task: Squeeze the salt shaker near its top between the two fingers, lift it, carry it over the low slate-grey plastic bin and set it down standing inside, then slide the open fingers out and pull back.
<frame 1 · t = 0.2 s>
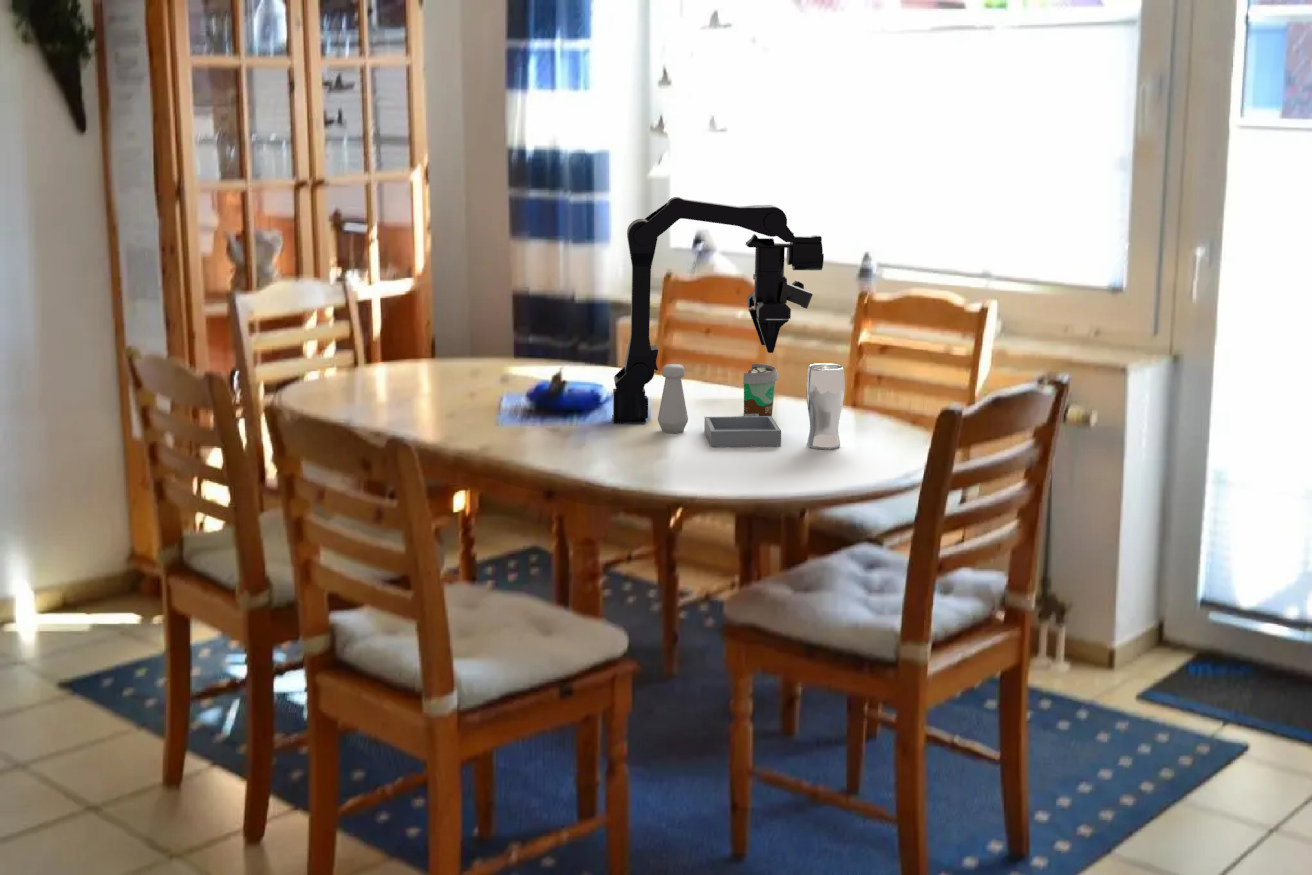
hand: (767, 348, 310), 14 cm above the table, tool pointing down, fingers open, 9 cm apart
food container: (762, 418, 316), on the table
salt shaker: (672, 432, 303), on the table
bin: (741, 439, 296), on the table
beer glass: (823, 447, 291), on the table
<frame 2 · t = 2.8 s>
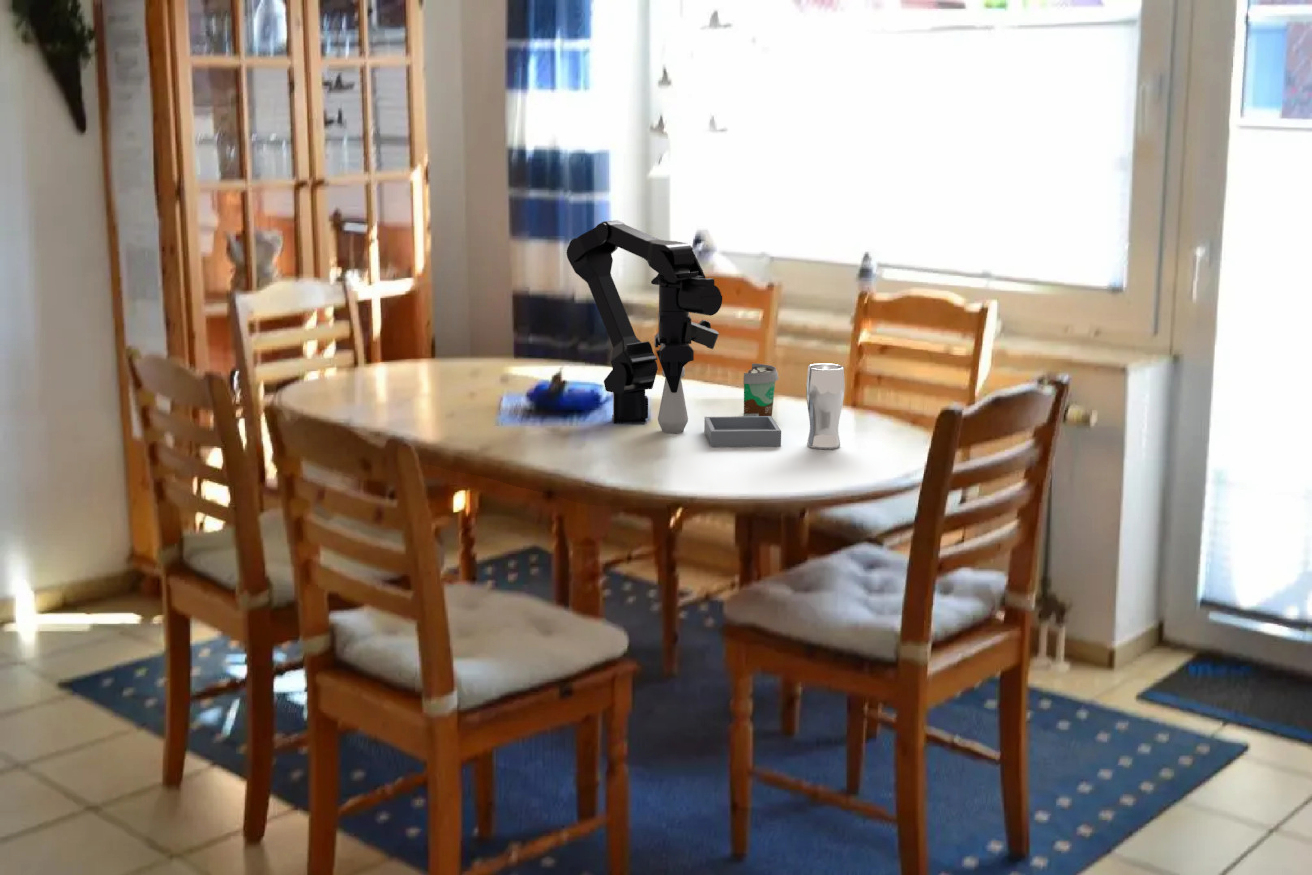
hand: (673, 390, 301), 8 cm above the table, tool pointing down, fingers closed on salt shaker, 4 cm apart
salt shaker: (672, 432, 303), on the table, touching gripper
everything else where it was.
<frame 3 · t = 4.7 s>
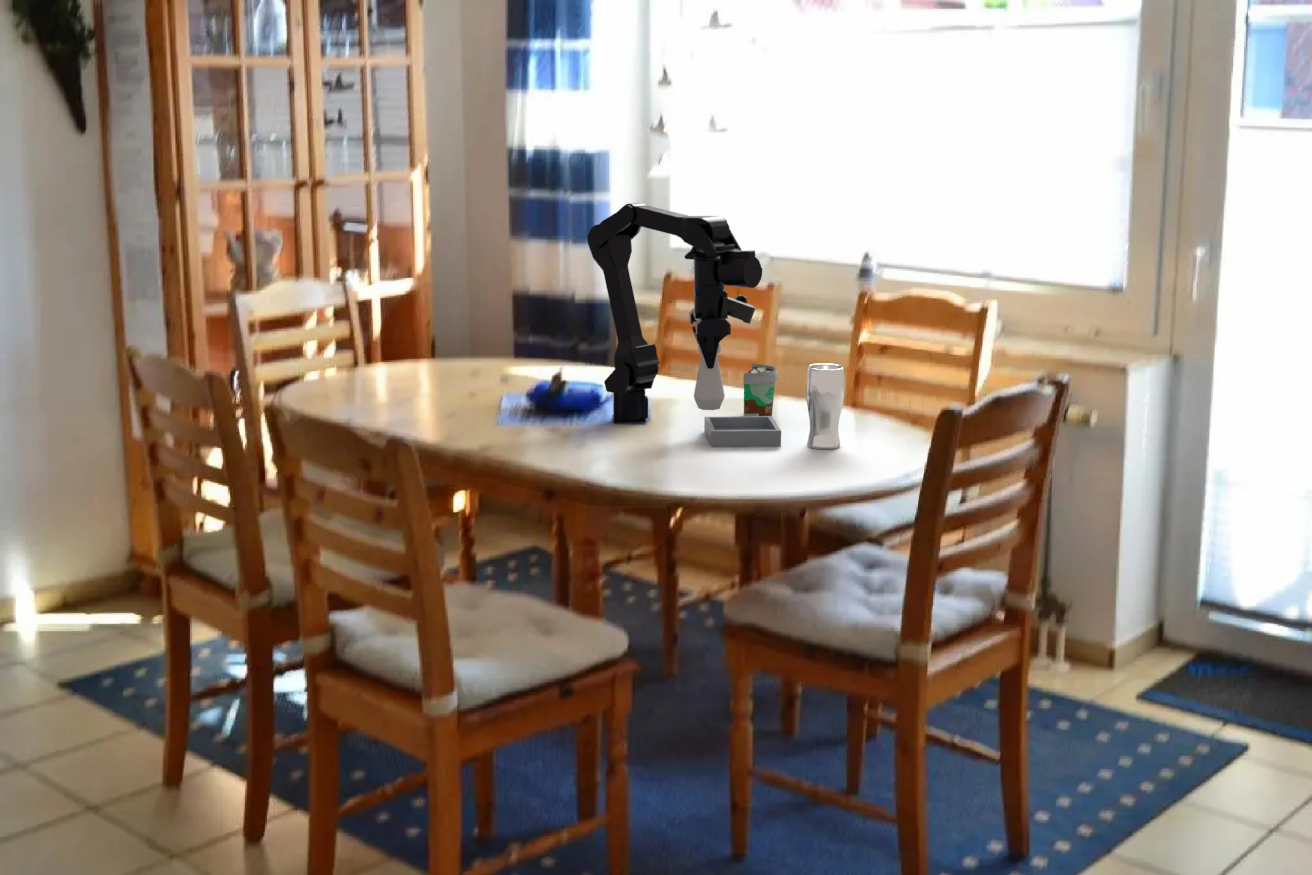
hand: (709, 366, 296), 13 cm above the table, tool pointing down, fingers closed on salt shaker, 4 cm apart
salt shaker: (709, 409, 298), point 5 cm above the table, touching gripper
everything else where it was.
when the fingers open (10 cm above the table, at t = 6.5 s): salt shaker drops 1 cm, resting on bin.
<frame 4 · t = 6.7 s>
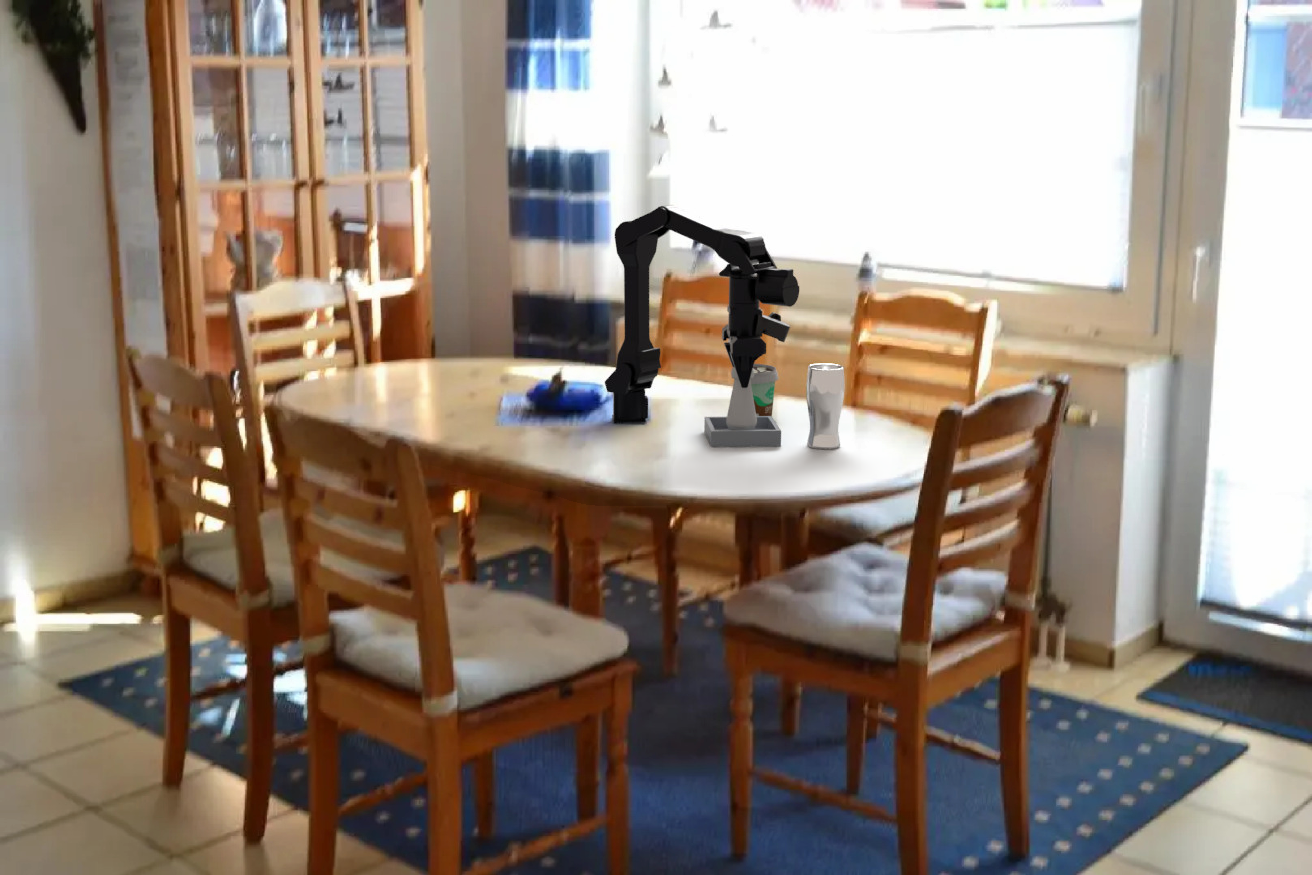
hand: (742, 384, 294), 10 cm above the table, tool pointing down, fingers open, 6 cm apart
salt shaker: (741, 434, 296), point 1 cm above the table, touching bin
everything else where it was.
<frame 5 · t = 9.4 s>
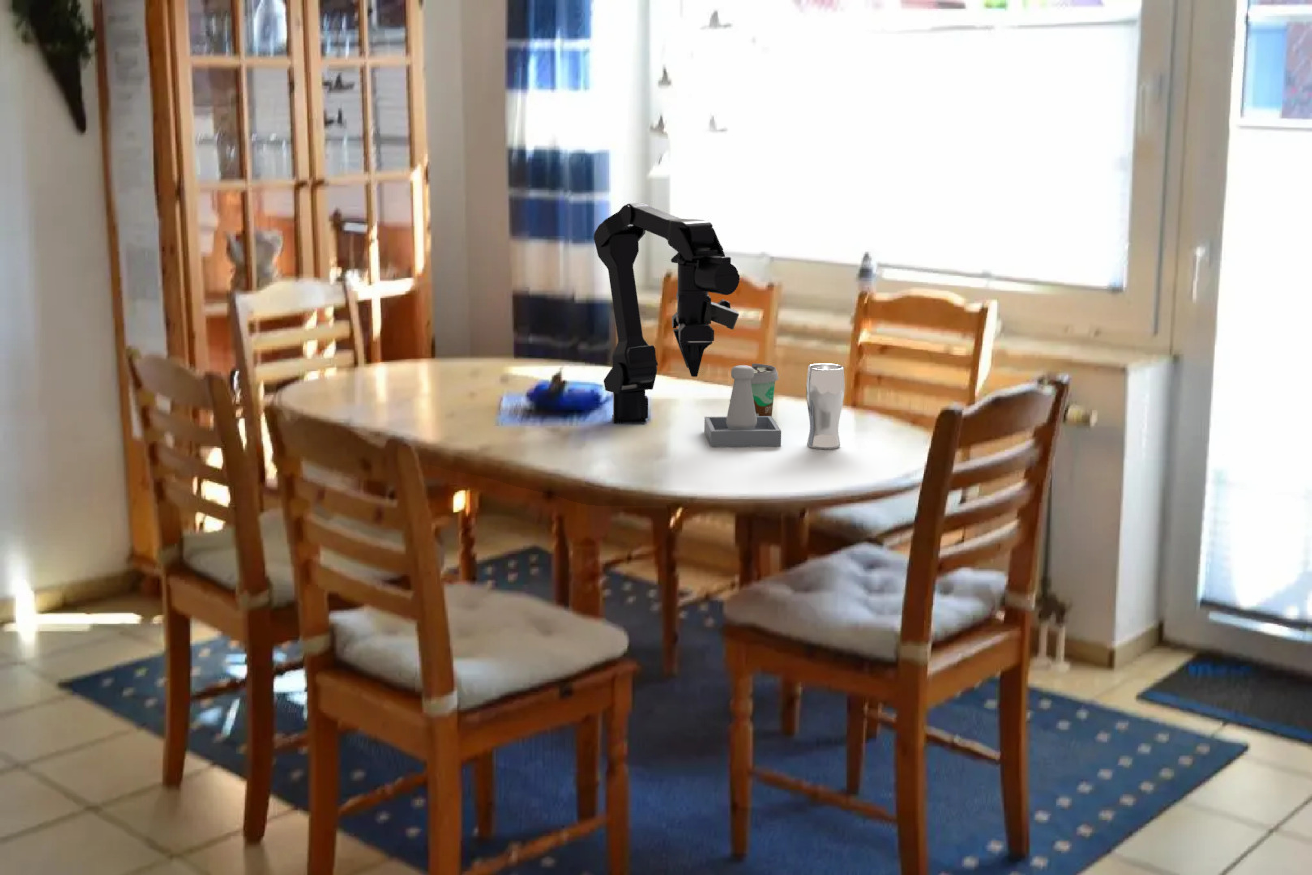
hand: (691, 372, 293), 13 cm above the table, tool pointing down, fingers open, 9 cm apart
nothing on the table moved.
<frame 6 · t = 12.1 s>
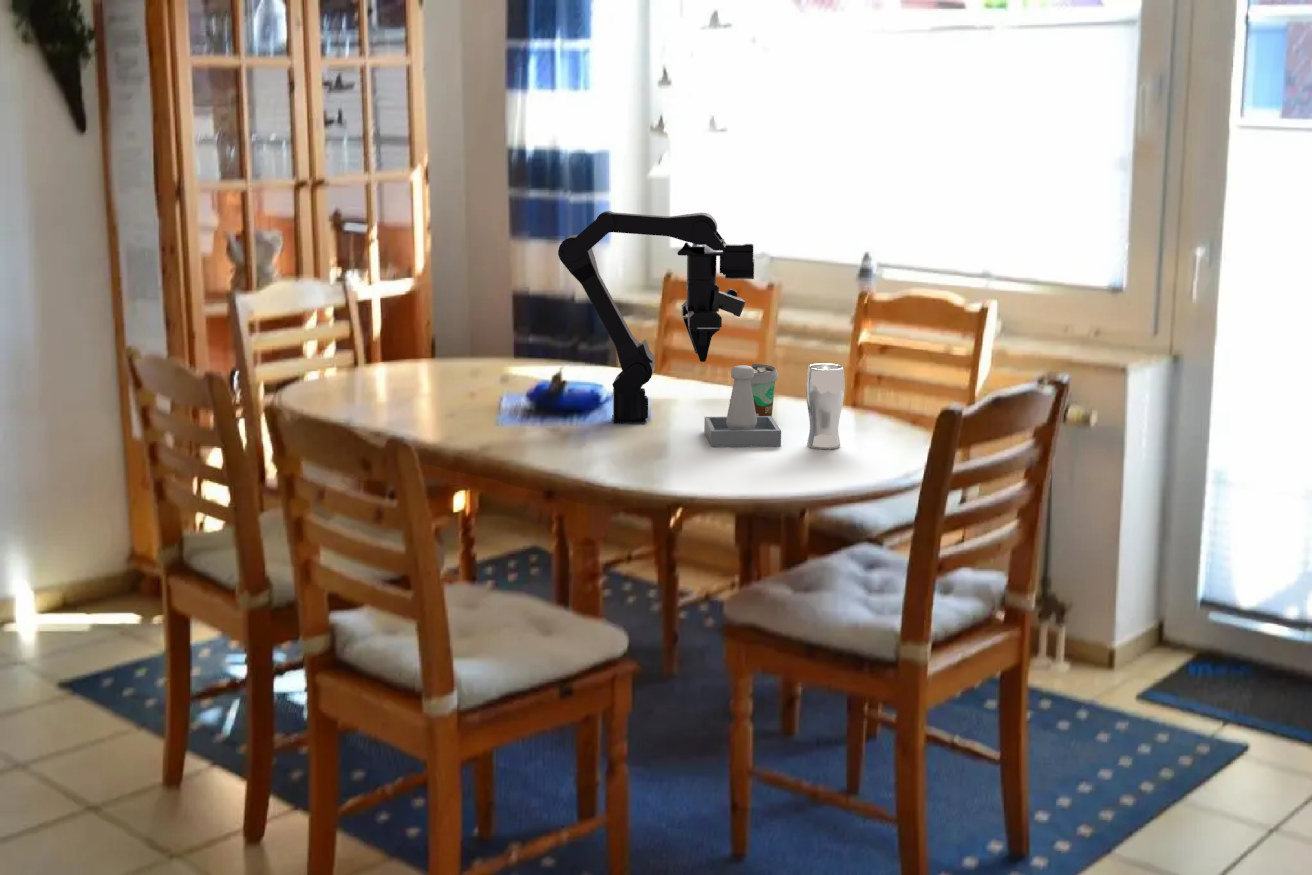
hand: (700, 357, 308), 13 cm above the table, tool pointing down, fingers open, 9 cm apart
nothing on the table moved.
at the end: salt shaker inside the target area on the bin (0.1 cm from its centre), point 0.8 cm above the bin's base; the gripper is holding nothing; salt shaker tilted 0° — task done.
